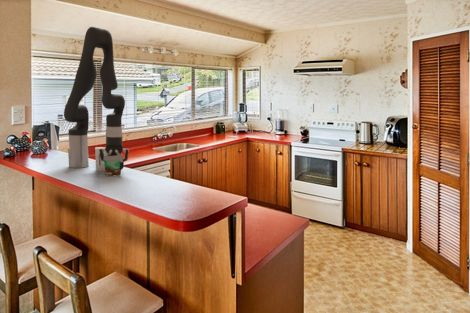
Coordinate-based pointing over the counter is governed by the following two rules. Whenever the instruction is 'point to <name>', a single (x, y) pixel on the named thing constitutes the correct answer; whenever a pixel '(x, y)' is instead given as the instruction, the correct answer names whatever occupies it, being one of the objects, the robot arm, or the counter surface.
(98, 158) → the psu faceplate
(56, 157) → the counter surface
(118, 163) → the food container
